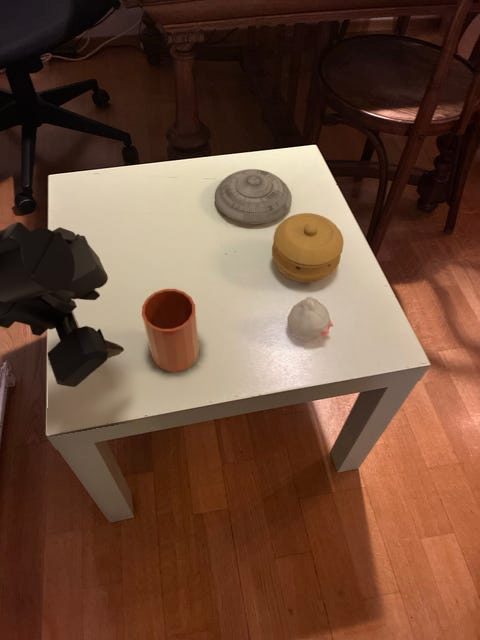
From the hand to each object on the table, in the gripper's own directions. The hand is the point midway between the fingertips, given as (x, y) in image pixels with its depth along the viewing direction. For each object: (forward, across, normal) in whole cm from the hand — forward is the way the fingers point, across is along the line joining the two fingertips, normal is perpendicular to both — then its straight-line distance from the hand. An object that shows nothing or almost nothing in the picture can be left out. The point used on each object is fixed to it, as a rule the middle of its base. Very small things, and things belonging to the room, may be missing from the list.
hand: (109, 323), depth 63 cm
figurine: (+26, -7, -16) cm, 32 cm away
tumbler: (+15, -1, 0) cm, 15 cm away
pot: (+31, +5, -22) cm, 38 cm away
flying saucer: (+32, +24, -21) cm, 45 cm away
